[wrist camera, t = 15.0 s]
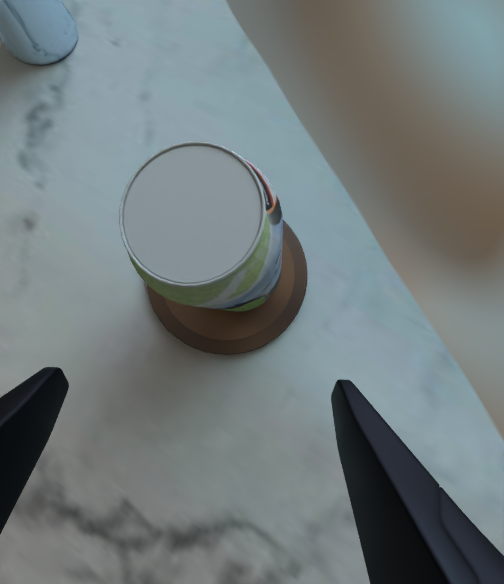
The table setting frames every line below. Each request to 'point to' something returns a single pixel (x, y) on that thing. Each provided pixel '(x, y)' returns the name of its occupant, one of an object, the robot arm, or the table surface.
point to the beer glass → (37, 30)
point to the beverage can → (203, 227)
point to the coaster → (242, 324)
